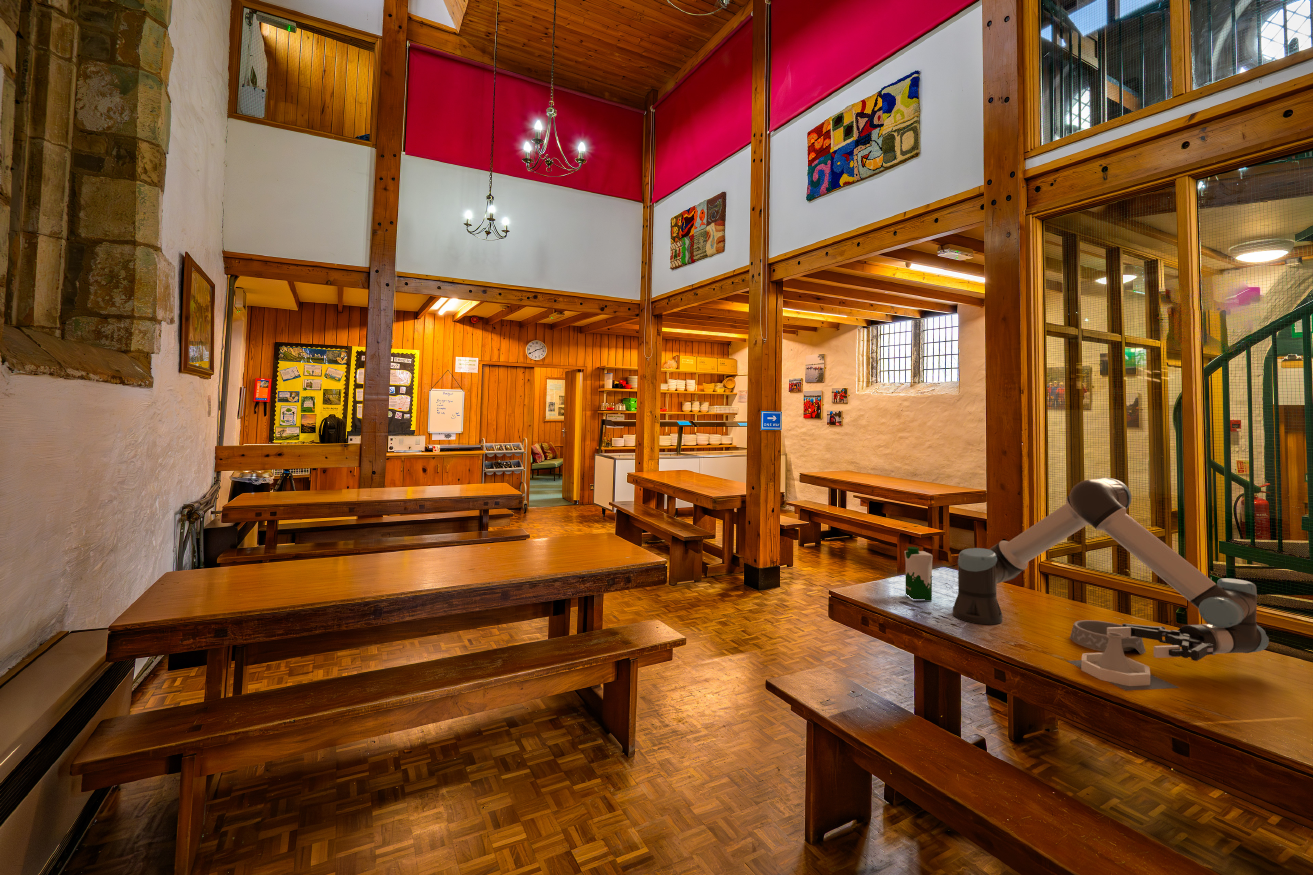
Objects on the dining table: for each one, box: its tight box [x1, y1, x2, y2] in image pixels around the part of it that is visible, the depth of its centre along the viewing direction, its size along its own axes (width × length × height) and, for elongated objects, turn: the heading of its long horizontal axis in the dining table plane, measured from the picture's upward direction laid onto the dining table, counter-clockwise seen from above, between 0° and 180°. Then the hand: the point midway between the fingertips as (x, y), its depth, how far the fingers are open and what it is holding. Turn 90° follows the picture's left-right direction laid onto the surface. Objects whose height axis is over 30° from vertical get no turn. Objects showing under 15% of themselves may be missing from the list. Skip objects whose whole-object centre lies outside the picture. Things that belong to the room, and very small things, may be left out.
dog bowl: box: [1069, 619, 1147, 655], centre depth 170 cm, size 17×18×5 cm
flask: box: [1098, 632, 1132, 673], centre depth 149 cm, size 7×7×10 cm
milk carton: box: [904, 546, 934, 601], centre depth 217 cm, size 9×9×20 cm
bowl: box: [1080, 652, 1151, 686], centre depth 149 cm, size 14×14×3 cm
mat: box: [1066, 659, 1180, 692], centre depth 149 cm, size 18×15×1 cm
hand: (1130, 641), depth 149 cm, fingers open, 13 cm apart
